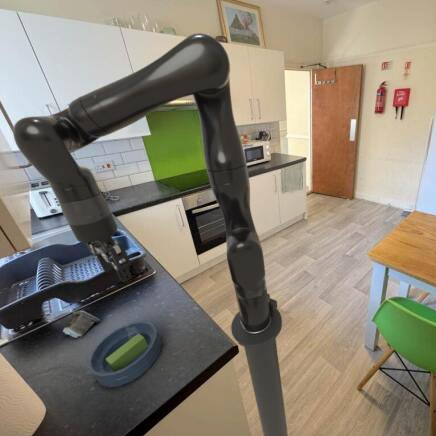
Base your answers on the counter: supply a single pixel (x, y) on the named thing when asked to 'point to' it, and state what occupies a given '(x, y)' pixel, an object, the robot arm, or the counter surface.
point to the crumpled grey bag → (80, 324)
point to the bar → (127, 352)
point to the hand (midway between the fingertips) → (118, 274)
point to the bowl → (113, 343)
